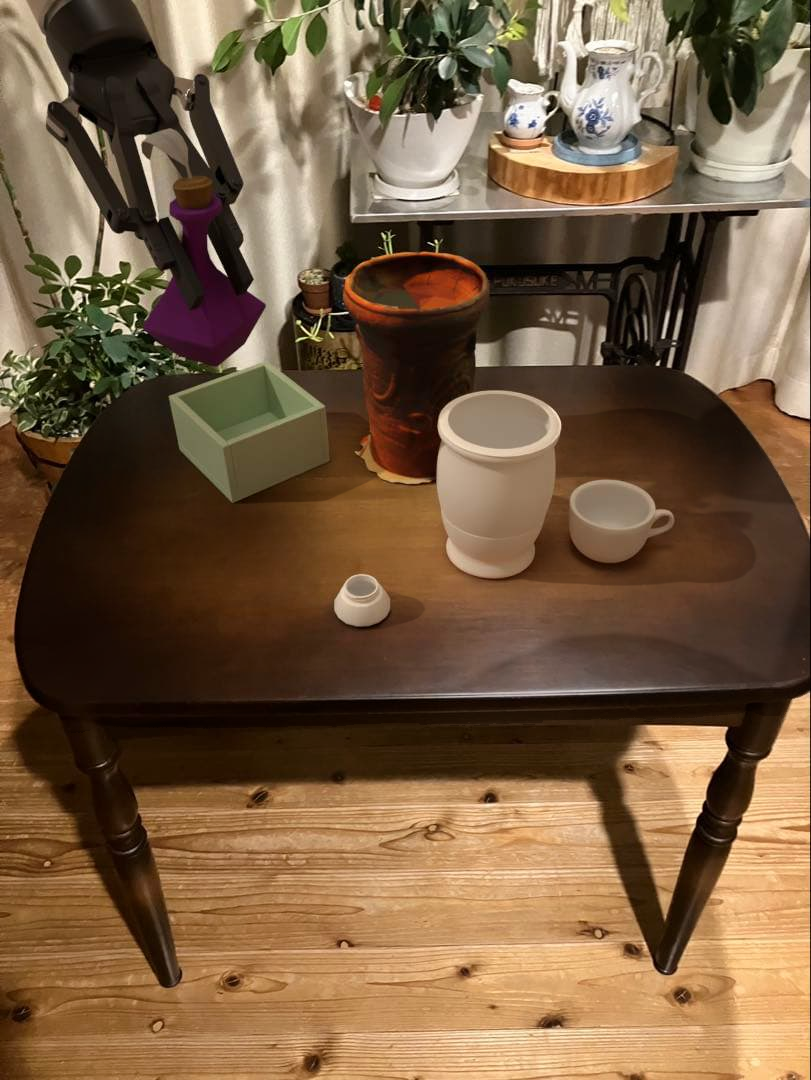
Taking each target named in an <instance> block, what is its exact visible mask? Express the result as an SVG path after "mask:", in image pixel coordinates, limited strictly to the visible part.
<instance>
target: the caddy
mask: <svg viewBox="0 0 811 1080" xmlns="http://www.w3.org/2000/svg"><path fill="white" fill-rule="evenodd" d="M168 400H169V405H170V409H171V410H170V411H171V416H172V419H173V424H174V429H175V433H176V438H177V444H178V449H179V451H180V452H181V453H182V454H183V455H184V456H185V457H186V458H187V459H188V460H189V461H190V462H191V463H192V464H193V465H194V466H195V467H196V468H197V469H198V470H199V471H200V472H201V473H202V474H203V475H204V476H205V478H207V479H208V480H209V481H210V482H211V483H212V484H213V485H214V486H215V487H216V488H217V489H218V490H219V491H220V492H221V493H222V494H223V495H224V497H226V498H227V499H228V501H230V502H231V503H232V504H234V503H236V502H238V501H241V500H243V499H246V498H247V497H250V496H252V495H254V494H257V493H259V492H262V491H263V490H266V489H269V488H271V487H273V486H275V485H277V484H280V483H282V482H285V481H287V480H289V479H291V478H294V477H296V476H300V475H301V474H303V473H306V472H308V471H310V470H312V469H315V468H317V467H319V466H322V465H324V464H326V463H329V462H331V455H330V444H329V431H328V419H327V406H326V405H325V404H323V403H322V402H320V401H319V400H318V399H317V398H316V397H315V396H313V395H312V394H311V393H309V392H308V391H306V390H305V389H304V388H303V387H301V386H300V385H299V384H298V383H296V382H295V381H293V380H292V379H291V378H290V377H288V376H287V375H286V374H284V373H283V372H282V371H281V370H280V369H278V368H277V367H275V366H274V365H273V364H272V363H270V362H269V361H268V360H265V361H262V362H259V363H256V364H254V365H251V366H248V367H246V368H243V369H240V370H237V371H234V372H232V373H231V372H230V373H229V374H226V375H223V376H220V377H217V378H215V379H212V380H209V381H206V382H203V383H200V384H198V385H195V386H193V387H189V388H187V389H183V390H182V391H179V392H176V393H173V394H170V395H168Z"/></svg>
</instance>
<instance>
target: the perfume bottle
mask: <svg viewBox="0 0 811 1080" xmlns="http://www.w3.org/2000/svg"><path fill="white" fill-rule="evenodd" d="M140 146H141V147H140V149H141V153H142V155H143V156H144V157H145V158H146V159H147V160H148V161H150V160H151V157H152V154H153V149H154V147H155V148H156V149H158V150H160V151H162V152H163V153H165V154H166V156H167V155H169V156H170V157H172V158H173V159H175V160H176V161H178V162H179V163H181V164H183V165H184V166H185V168H186V170H187V174H188V177H185V178H182V177H181V178H179V179H177V180H176V181H175V182H174V183H173V184H172V189H173V193H174V196H175V198H174V199H173V200H172V201H170V202H169V207H168V208H169V210H168V211H169V217H170V216H171V218H173V219H175V220H176V221H179V223H180V225H181V227H182V235H181V244H182V246H183V248H184V250H185V252H186V254H187V256H188V258H189V260H190V262H191V265H192V267H193V269H194V271H195V273H196V275H197V277H198V279H199V281H200V283H201V285H202V287H203V289H204V292H205V294H206V295H205V297H204V299H203V301H202V303H201V304H200V306H199V308H198V309H195V310H191V311H190V310H189V308H188V306H187V304H186V302H185V300H184V298H183V296H182V294H181V292H180V290H179V288H178V286H177V283H176V281H175V279H174V277H173V275H172V276H171V278H170V280H169V282H168V283H167V286H166V288H165V289H164V291H163V293H162V295H161V297H160V298H159V299H158V301H157V303H156V304H155V306H154V307H153V309H152V310H151V311H150V313H149V315H148V316H147V318H146V319H145V321H144V322H143V324H142V326H141V328H142V330H143V331H144V332H145V333H147V334H148V335H150V336H151V337H153V338H154V339H155V340H156V341H158V342H159V343H160V344H162V345H163V346H165V348H167V349H169V350H170V351H171V352H173V353H174V354H175V355H177V356H178V357H180V358H184V359H187V360H191V361H194V362H197V363H201V364H204V365H207V366H211V367H214V368H215V367H216V368H217V367H219V366H221V365H222V364H223V363H224V362H225V361H226V360H228V359H229V358H230V357H231V356H232V355H233V354H235V353H236V352H237V351H238V350H240V349H241V348H242V347H243V346H244V345H245V344H246V342H248V339H249V337H250V336H251V334H252V332H253V331H254V329H255V327H256V325H257V323H258V322H259V320H260V318H261V317H262V315H263V313H264V311H265V309H266V307H267V304H266V303H265V302H263V301H262V300H261V299H259V298H258V297H257V296H255V295H254V294H252V293H251V292H250V291H248V290H247V291H246V293H245V294H242V295H239V296H237V295H236V293H235V291H234V289H233V287H232V285H231V282H230V280H229V278H228V276H227V274H226V273H224V272H222V270H220V269H218V268H217V266H216V265H215V263H214V261H212V259H211V256H210V253H209V250H208V249H209V247H208V235H207V233H208V227H209V225H210V223H211V221H212V219H213V217H216V216H217V215H218V214H219V213H220V212H221V211H222V202H221V199H220V198H219V197H217V196H215V195H213V194H211V190H212V180H210V179H209V178H207V177H205V176H192V175H191V172H190V169H189V166H188V147H187V145H186V143H185V141H184V139H183V137H182V136H181V135H180V134H179V133H178V132H177V131H175V130H173V129H171V128H169V129H165V130H162V131H159V132H156V133H153V134H151V135H147V137H145V139H143V140H142V141H141V143H140Z"/></svg>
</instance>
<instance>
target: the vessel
mask: <svg viewBox="0 0 811 1080" xmlns="http://www.w3.org/2000/svg"><path fill="white" fill-rule="evenodd" d="M490 285H491V284H490V280H489V279H488V276H487V274H486V272H485V271H484V270H482V268H481V267H480V266H479V265H477V264H476V263H474V262H473V261H471V260H469V259H467V258H465V257H464V256H461V255H455V254H451V253H447V252H445V253H443V252H430V251H420V252H419V251H418V252H417V251H416V252H410V251H403V252H396V253H388V254H383V255H379V256H375V257H373V258H371V259H369V260H366V261H365V260H364V261H363V262H361V263H358V264H357V266H356V267H354V269H353V270H352V271H351V272H350V273H349V274H348V275H347V277H346V278H345V282H344V287H343V293H342V299H343V303H344V306H345V309H346V311H347V313H348V315H349V316H350V318H351V319H352V320H353V321H354V322H355V323H356V325H355V327H354V331H355V334H356V339H357V341H358V342H359V345H360V348H361V359H362V368H363V369H362V376H363V393H364V398H365V405H366V408H367V409H366V410H367V414H368V420H369V422H368V423H369V433H370V434H368V435H365V436H364V437H363V438H362V440H361V441H360V442H359V445H361V446H362V447H361V450H359V451H357V450H355V451H354V454H356V455H357V456H358V457H359V458H361V459H363V460H364V463H365V466H366V468H367V470H368V471H371V472H374V473H376V474H377V476H378V477H379V478H380V479H381V480H384V481H388V482H389V483H401V484H406V485H412V484H415V485H416V484H417V485H418V484H421V483H431V482H432V481H434V480H436V471H437V460H438V453H439V448H440V444H441V441H442V439H441V437H440V435H439V432H438V419H439V415H440V413H441V411H442V409H443V408H444V407H445V406H446V405H447V404H448V403H450V402H451V401H453V400H455V399H456V398H459V397H461V396H464V395H467V394H470V393H474V390H475V389H474V388H475V378H476V371H477V368H476V367H477V365H476V364H477V362H476V361H477V359H476V348H477V346H476V345H477V332H478V331H477V330H478V326H479V322H480V320H481V318H482V316H483V314H484V312H485V311H486V309H487V307H488V304H489V300H490V293H491V286H490Z"/></svg>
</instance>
